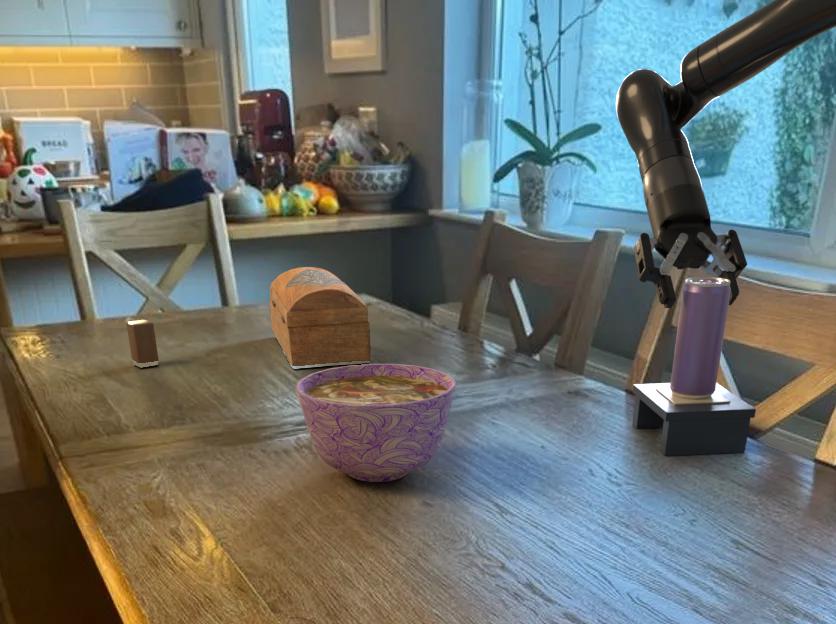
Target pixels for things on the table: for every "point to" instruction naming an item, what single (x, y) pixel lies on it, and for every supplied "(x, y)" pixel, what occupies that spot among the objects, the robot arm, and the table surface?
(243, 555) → the table surface
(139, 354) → the wooden block
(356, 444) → the bowl of food
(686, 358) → the beverage can
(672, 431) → the dark footstool
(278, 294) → the wooden box
